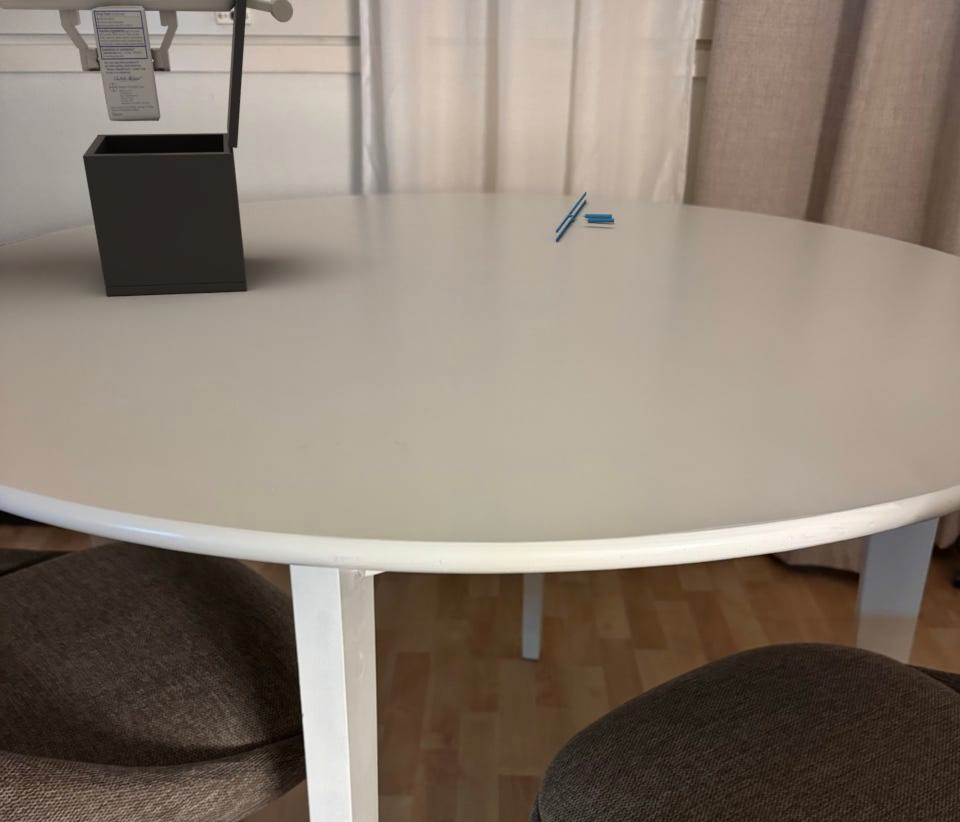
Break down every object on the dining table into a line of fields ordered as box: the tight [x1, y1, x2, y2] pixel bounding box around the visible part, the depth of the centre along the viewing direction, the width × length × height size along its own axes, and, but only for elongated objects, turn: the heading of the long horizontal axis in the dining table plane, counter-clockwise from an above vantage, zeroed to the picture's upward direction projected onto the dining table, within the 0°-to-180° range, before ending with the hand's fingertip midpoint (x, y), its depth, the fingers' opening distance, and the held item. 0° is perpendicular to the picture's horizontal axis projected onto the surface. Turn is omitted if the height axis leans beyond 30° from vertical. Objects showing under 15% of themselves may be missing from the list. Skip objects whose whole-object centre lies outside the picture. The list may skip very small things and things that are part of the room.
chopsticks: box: [555, 191, 615, 243], centre depth 128 cm, size 1×25×5 cm
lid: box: [226, 0, 294, 149], centre depth 95 cm, size 14×14×5 cm
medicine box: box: [90, 6, 161, 122], centre depth 93 cm, size 8×4×9 cm, turn 16°
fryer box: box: [82, 132, 248, 297], centre depth 100 cm, size 13×14×12 cm
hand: (127, 71), depth 94 cm, fingers closed on medicine box, 4 cm apart
